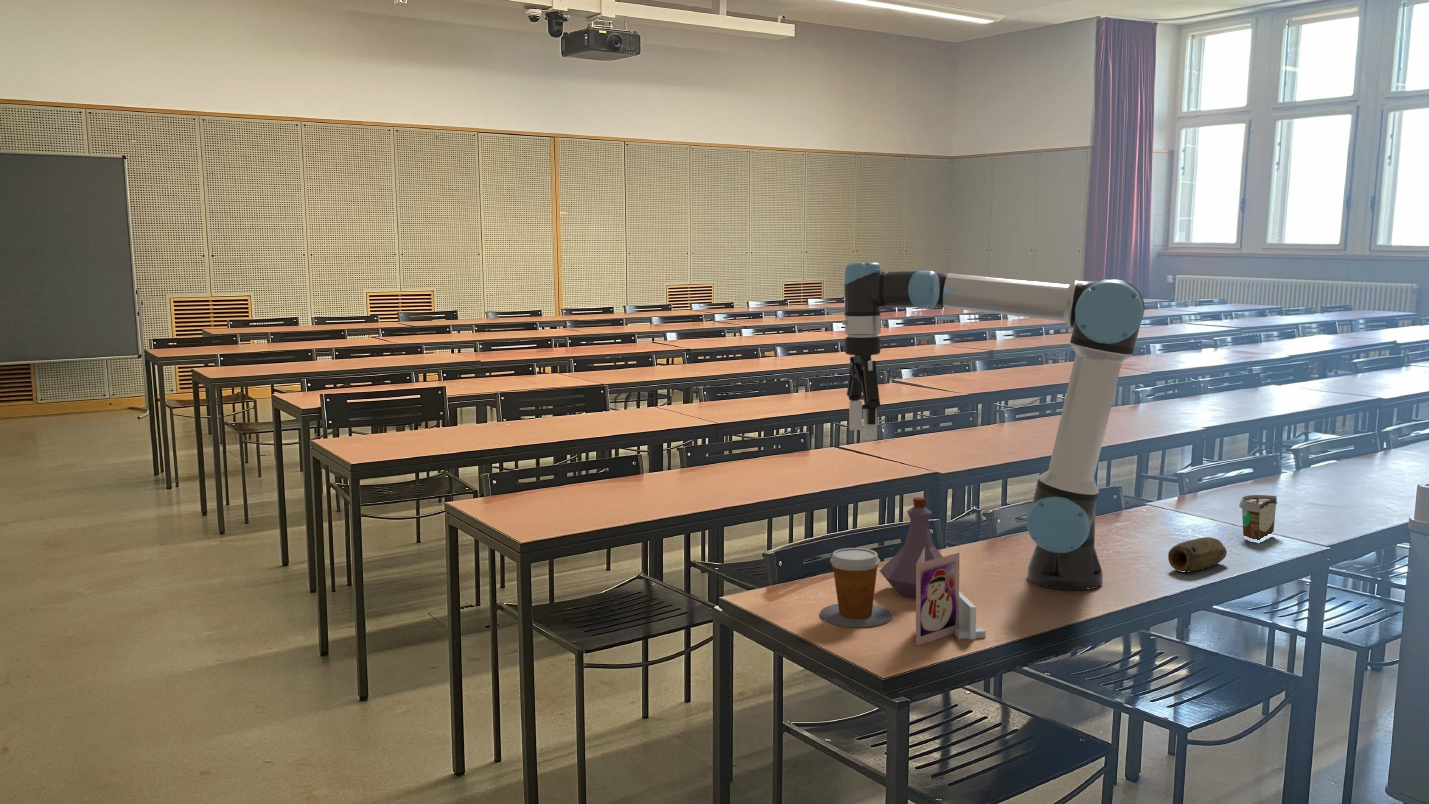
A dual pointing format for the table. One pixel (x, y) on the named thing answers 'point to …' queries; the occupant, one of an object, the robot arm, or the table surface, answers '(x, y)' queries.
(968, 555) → the table surface
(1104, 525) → the table surface
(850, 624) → the mat
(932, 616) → the greeting card
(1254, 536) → the food container
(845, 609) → the disposable coffee cup
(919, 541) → the flask
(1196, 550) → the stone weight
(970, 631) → the divider
